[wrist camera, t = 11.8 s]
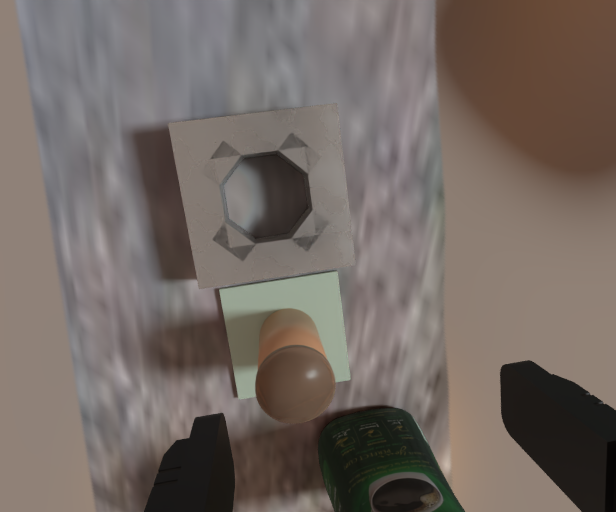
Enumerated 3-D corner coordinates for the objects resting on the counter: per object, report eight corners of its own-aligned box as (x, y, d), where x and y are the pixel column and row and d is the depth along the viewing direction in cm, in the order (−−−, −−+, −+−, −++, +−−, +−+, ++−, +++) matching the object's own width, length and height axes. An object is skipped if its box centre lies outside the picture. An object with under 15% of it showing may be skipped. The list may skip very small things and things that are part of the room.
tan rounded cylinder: (253, 313, 34) (248, 356, 26) (313, 302, 35) (329, 341, 26) (264, 369, 35) (262, 430, 27) (322, 358, 36) (340, 415, 27)
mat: (219, 288, 34) (219, 289, 34) (336, 270, 35) (337, 271, 35) (239, 397, 36) (238, 399, 36) (349, 377, 37) (350, 379, 36)
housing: (178, 130, 32) (167, 123, 28) (329, 111, 33) (337, 102, 29) (205, 278, 34) (199, 289, 30) (346, 257, 35) (355, 265, 31)
